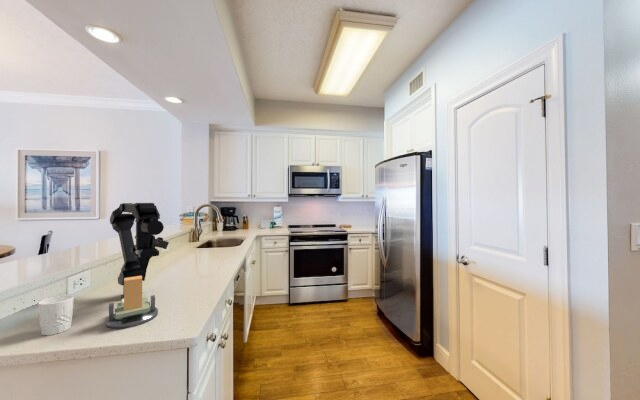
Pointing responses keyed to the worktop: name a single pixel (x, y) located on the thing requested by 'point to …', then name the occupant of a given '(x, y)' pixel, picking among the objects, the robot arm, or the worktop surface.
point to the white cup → (55, 314)
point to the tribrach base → (130, 317)
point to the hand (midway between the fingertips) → (144, 271)
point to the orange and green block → (132, 298)
